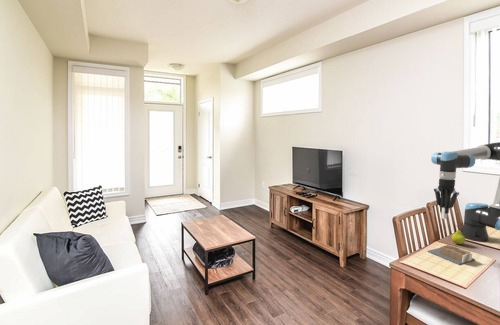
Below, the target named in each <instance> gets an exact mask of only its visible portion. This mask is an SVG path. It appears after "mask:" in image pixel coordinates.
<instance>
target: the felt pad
mask: <svg viewBox="0 0 500 325" xmlns="http://www.w3.org/2000/svg"><path fill="white" fill-rule="evenodd" d="M427 252H428V253H430V254H432V255H434V256H437V257H439V258H441V259H444V260H446V261H448V260H449V261H448V262H451V263H454V264H457V265H458V266H459V265H463V264H466V263H470V262H473V261H475V258H473V257H472V260H473V261H472V260H470V261H467V262H464V263H462V262H460V261H457V260H455V259H452V258H450V257H447V256H445V255H442V254H440V247H437V248H433V249H430V250H429V249H428V250H427Z"/></svg>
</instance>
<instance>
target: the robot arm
mask: <svg viewBox="0 0 500 325" xmlns="http://www.w3.org/2000/svg"><path fill="white" fill-rule="evenodd" d="M430 159H431V160H430V161H431V162H432V164H434V165H438V166H439V176H438V177H439V179H438V186H437V187H436V188H433V192H434V193H435V194H434V195H435V198H436V205H437V206H439V207H440V213H441V214H440V216H441V217H440V219H441V220H442V219H443V220H445V219H448V218H447V217H448V214H449V213H450V209H451V208H454V205H455V203H456V201H457V197H458V196H459V195H460V192H458V191H457V190H456V188H455V186H456V177H457V176H456V174H457V169H467V168H472V167H474V166H475V164H476V160H481V161H483V160H484V161H485V160H492V161H493V160H494V161H498V162H500V141H498V142H491V143H485V144H480V145H478V146H477V147H471V148H467V149H466V148H465V149H459V150H454V151H443V152H435V153H433V154H432V155H431V158H430ZM487 227H489V228H492V229H494V230H497V231H500V177H499V178H498V183H497V187H496V191H495V195H494V200H493V203H492V204H490V205H489V204H487V203H482V202H481V203H480V202H479V203H478V202H471V203H470V202H469V203H467V204H465V207H464V216H463V224H462V226H461V228H460V229H459V230H460V231H461V233H462V235H463V236H464V237H465V239H466V240H469V241H470V240H471V241H476V242H488V241H489V236H490V235H489V233H488V230H487Z"/></svg>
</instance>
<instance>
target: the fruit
mask: <svg viewBox="0 0 500 325" xmlns="http://www.w3.org/2000/svg"><path fill="white" fill-rule="evenodd" d="M455 226H456V227H457V228H459V226H458V225H457V224H456V225H455ZM460 230H461V229H457V230H456V231H455V233H453V234H452V235H451V241H452V243H454V244H456V245H463V244H465V242H466V241H467V238H465V237H464V236H463V235H462V233H461V231H460Z"/></svg>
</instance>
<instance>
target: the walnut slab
mask: <svg viewBox="0 0 500 325" xmlns="http://www.w3.org/2000/svg"><path fill="white" fill-rule="evenodd" d="M439 248H440V254H442V255H445V256H447V257H450V258H452V259H455V260H457V261H460V262H462V263H463V264H465V263H464V262H467V261H470V260H472V258H473V252H470V251H469V250H465V249H462V248H460V247H457V246H454V245H451V244H446V245H443V246H440V247H439ZM470 262H471V261H470ZM467 263H468V262H467Z"/></svg>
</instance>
